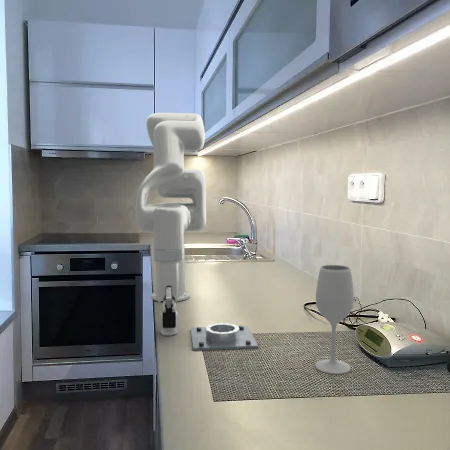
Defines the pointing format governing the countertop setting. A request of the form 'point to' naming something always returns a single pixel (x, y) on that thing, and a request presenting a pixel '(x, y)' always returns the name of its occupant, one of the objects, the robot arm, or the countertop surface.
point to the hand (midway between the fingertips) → (169, 321)
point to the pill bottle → (169, 330)
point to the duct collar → (222, 332)
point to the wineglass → (334, 308)
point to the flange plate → (203, 343)
